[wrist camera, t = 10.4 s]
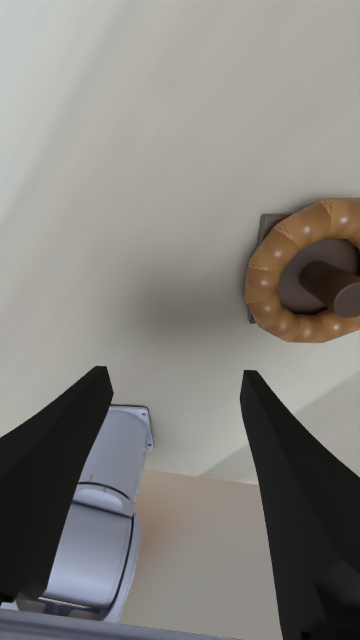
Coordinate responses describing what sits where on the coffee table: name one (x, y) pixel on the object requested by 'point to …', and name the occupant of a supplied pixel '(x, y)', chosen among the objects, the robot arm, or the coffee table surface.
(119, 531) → the robot arm
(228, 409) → the coffee table surface
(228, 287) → the coffee table surface
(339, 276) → the stand
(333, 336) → the brown donut ring
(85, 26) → the coffee table surface
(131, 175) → the coffee table surface
